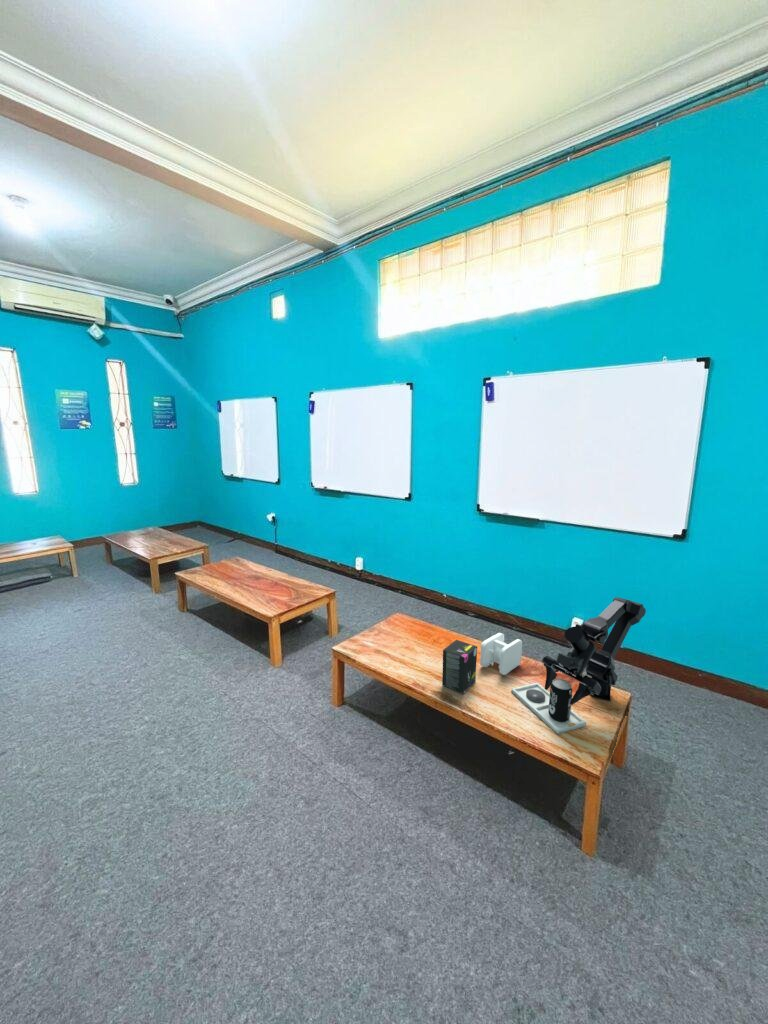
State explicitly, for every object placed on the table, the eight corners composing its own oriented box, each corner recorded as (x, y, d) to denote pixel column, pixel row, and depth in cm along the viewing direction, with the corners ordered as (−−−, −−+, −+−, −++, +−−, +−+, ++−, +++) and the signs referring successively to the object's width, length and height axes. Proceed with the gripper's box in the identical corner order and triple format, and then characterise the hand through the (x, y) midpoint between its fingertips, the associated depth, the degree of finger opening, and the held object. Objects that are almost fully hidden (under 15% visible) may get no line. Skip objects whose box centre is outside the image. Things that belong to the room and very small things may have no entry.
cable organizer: (501, 679, 155) (503, 651, 153) (478, 668, 163) (479, 641, 161) (521, 665, 165) (523, 638, 163) (498, 655, 173) (500, 630, 171)
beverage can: (544, 712, 135) (546, 679, 133) (560, 708, 137) (563, 676, 135) (557, 725, 129) (560, 691, 127) (574, 721, 130) (577, 687, 128)
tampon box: (463, 695, 145) (465, 657, 143) (441, 685, 150) (442, 649, 148) (476, 681, 154) (478, 645, 151) (455, 672, 159) (456, 638, 157)
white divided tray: (537, 685, 150) (537, 681, 150) (586, 725, 129) (586, 721, 129) (511, 692, 147) (511, 687, 146) (557, 734, 125) (557, 729, 125)
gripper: (546, 633, 138) (523, 672, 134) (599, 657, 123) (575, 702, 119) (558, 648, 144) (537, 686, 140) (611, 673, 128) (588, 716, 124)
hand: (557, 696), depth 130 cm, fingers open, 9 cm apart
